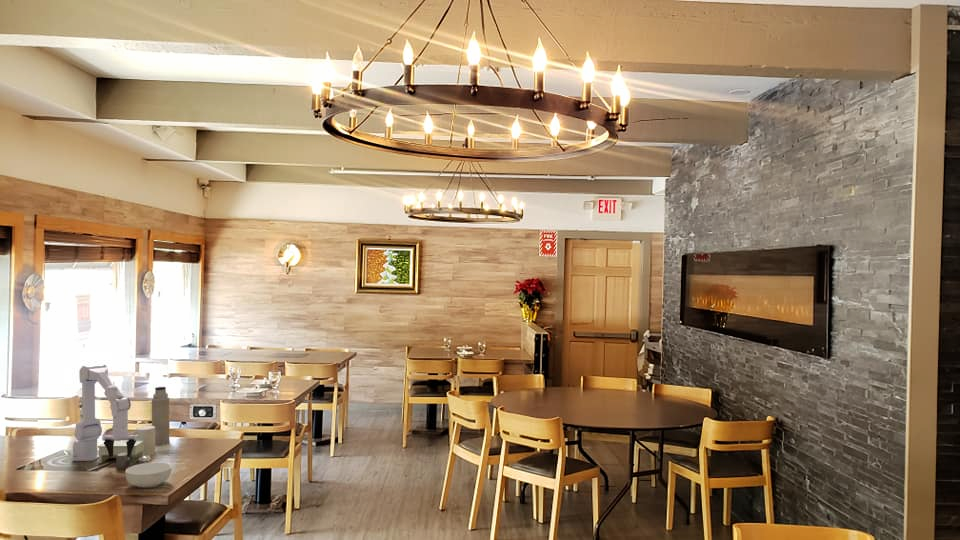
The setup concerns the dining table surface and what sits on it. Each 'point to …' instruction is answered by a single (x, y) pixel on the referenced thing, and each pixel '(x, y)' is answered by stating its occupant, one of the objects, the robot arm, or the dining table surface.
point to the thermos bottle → (160, 415)
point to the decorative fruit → (109, 433)
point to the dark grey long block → (124, 461)
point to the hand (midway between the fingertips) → (120, 456)
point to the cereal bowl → (148, 474)
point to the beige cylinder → (147, 438)
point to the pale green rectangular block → (120, 450)
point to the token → (144, 458)
